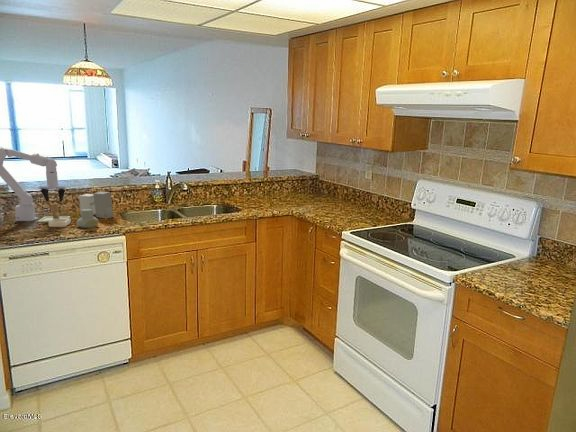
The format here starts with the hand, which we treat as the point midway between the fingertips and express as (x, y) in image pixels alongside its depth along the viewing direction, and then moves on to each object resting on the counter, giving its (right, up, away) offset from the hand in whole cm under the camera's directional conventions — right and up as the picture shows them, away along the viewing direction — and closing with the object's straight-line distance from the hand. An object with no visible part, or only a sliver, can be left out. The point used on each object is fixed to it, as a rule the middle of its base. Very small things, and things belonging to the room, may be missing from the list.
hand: (54, 201), depth 255 cm
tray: (+3, -11, -5) cm, 13 cm away
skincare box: (+28, -10, +6) cm, 30 cm away
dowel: (+4, -11, -5) cm, 13 cm away
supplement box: (+15, -8, +12) cm, 21 cm away
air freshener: (+28, -15, -17) cm, 36 cm away
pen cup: (+12, -14, -15) cm, 24 cm away
